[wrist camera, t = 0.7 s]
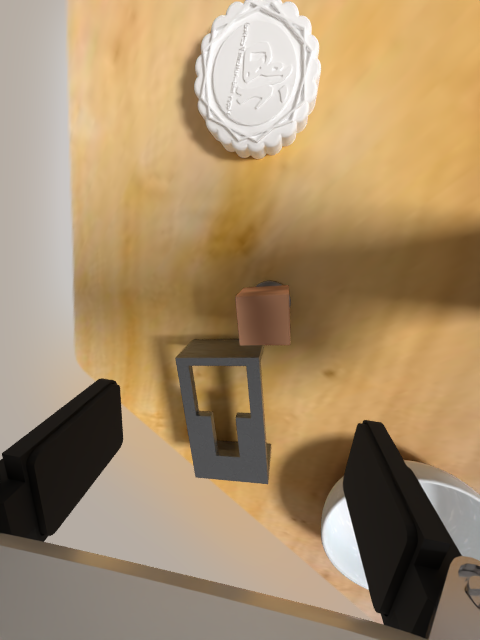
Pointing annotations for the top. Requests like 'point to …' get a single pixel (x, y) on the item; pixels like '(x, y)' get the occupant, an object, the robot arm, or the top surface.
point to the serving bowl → (443, 492)
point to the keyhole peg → (264, 314)
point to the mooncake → (257, 76)
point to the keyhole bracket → (251, 449)
